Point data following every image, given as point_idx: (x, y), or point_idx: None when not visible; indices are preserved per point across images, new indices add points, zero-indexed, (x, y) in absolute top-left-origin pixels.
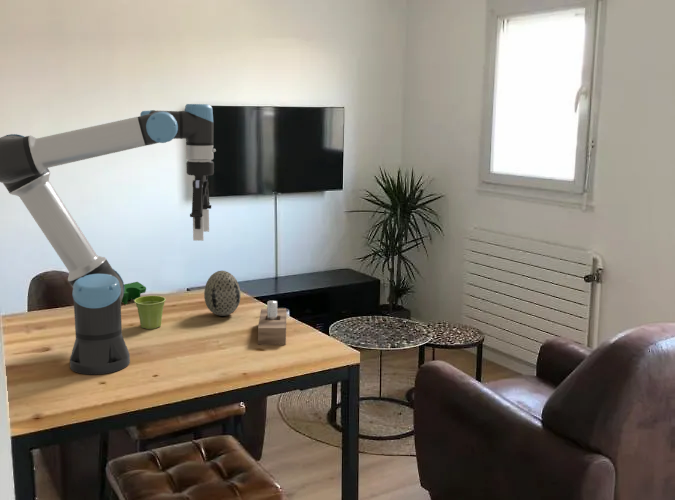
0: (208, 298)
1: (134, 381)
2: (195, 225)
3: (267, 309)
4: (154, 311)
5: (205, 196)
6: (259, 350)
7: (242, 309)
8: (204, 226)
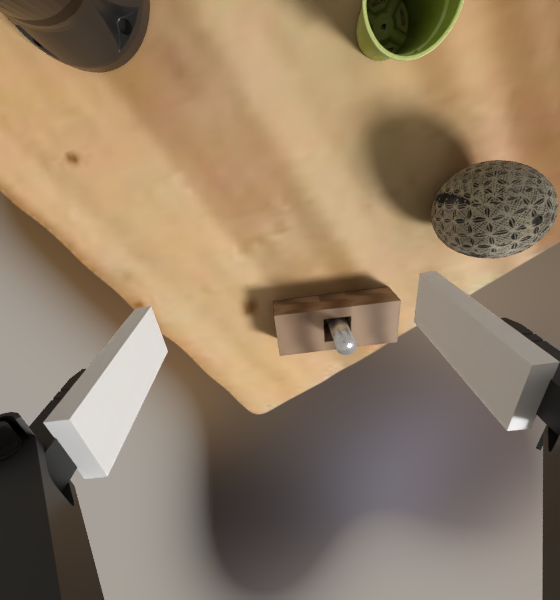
0: (457, 181)
1: (26, 122)
2: (63, 392)
3: (340, 330)
4: (368, 36)
5: None
6: (245, 307)
7: None
8: (432, 315)
